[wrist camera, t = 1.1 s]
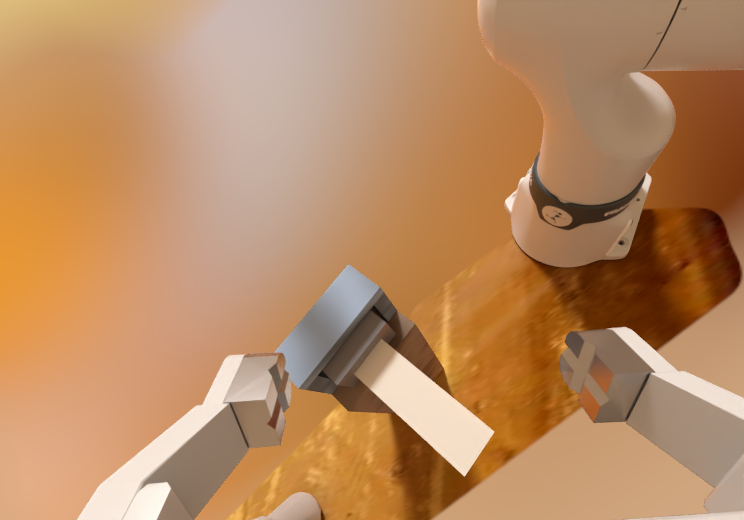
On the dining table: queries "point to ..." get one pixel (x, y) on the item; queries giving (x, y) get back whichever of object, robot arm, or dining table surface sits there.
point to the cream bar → (408, 392)
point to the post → (334, 325)
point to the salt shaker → (296, 509)
